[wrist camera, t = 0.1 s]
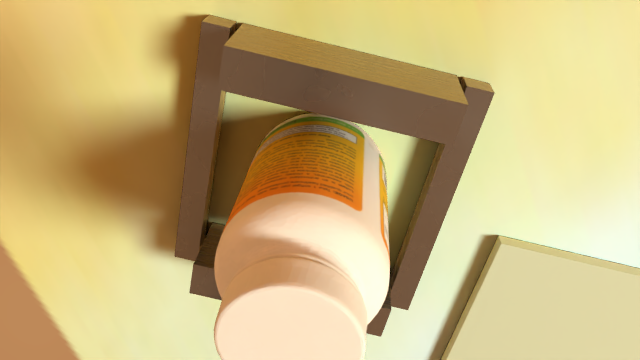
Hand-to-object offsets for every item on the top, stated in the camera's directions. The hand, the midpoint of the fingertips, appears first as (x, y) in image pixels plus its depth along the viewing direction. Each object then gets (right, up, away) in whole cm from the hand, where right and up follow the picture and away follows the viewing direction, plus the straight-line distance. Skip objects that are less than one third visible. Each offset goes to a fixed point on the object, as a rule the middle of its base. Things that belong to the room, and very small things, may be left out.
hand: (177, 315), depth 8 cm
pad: (+13, -6, +18) cm, 23 cm away
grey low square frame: (+2, +2, +15) cm, 15 cm away
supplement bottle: (+2, +2, +15) cm, 16 cm away
